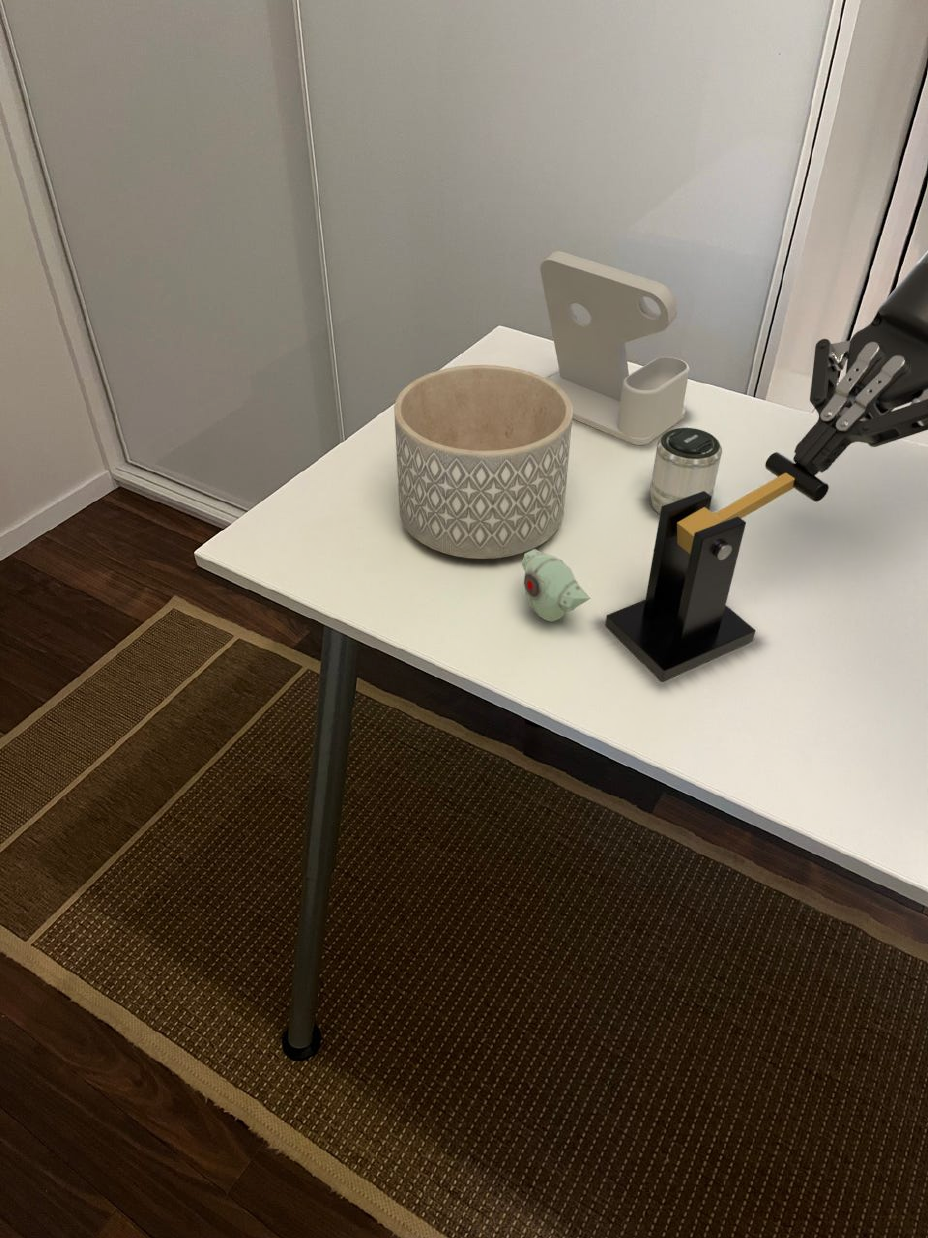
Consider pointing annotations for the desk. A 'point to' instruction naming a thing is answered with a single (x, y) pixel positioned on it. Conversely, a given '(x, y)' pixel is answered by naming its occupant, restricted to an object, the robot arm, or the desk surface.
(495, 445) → the planter
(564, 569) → the mint green rounded piece
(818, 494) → the lever
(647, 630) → the pivoting lever stand
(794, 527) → the desk surface
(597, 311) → the phone holder
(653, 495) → the camera lens
